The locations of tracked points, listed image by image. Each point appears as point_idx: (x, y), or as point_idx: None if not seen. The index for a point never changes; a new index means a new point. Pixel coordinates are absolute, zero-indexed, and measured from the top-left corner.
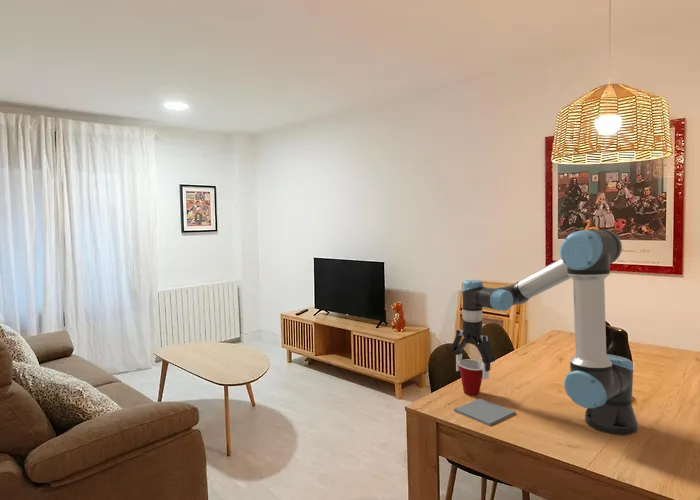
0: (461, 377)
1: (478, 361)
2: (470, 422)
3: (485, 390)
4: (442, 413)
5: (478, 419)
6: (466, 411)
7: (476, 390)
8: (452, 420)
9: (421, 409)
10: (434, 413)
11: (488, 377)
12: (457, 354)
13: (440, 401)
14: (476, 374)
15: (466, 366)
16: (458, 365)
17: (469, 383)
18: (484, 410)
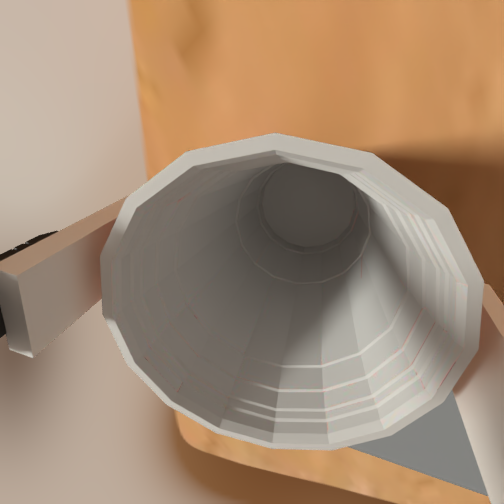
0: (231, 298)
1: (289, 153)
2: (432, 489)
3: (378, 92)
4: (301, 456)
5: (465, 486)
6: (389, 446)
7: (355, 247)
8: (360, 490)
9: (223, 450)
10: (277, 463)
11: (491, 291)
12: (6, 329)
13: None
14: (372, 361)
15: (182, 212)
16: None
17: (312, 307)
18: None
